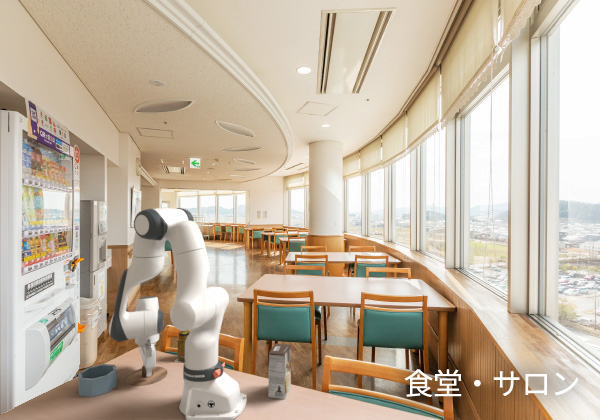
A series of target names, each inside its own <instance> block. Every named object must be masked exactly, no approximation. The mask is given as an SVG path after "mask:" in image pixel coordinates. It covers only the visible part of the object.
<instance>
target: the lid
mask: <svg viewBox="0 0 600 420" xmlns="http://www.w3.org/2000/svg"><path fill="white" fill-rule="evenodd" d="M167 375H168V370H167V368H165V367H163V366H155V368H152V375H151V376H149V377H147V376H146V369H145V366H141V368H140V369H139V368H138V369H136V370H134V371H132V372H131V373H129V374H128V375H127V376H126V378H125V379H126V380H125V382H126V383H127V384H128V385H130V386H133V387H134V386H135V387H139V386H140V387H142V386H144V387H145V386H149V385H153V384H155V383H158V382H161V381H162V380H163V379H165V378H166V377H167Z"/></svg>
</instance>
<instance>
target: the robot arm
mask: <svg viewBox="0 0 600 420" xmlns="http://www.w3.org/2000/svg"><path fill="white" fill-rule="evenodd" d="M133 220H134V221H133V229H134V231H135V233H134V237H133V244H132V255H131V256H132V258H131V262H130V265H129V266H128V268H125V269H124V270H123V272H122V274H121V276H120V281H119V285H118V288H117V293H116V297H115V298H116V299H115V303H114V307H113V308H114V310H113V314H112V317H111V320H110V322H109V326H108V334H109V337H110V338H111V339H112V340H113V341H115V342H117V343H120V342H121V343H122V342H125V341H128V340H134V341H135V342H134V343H135V344H136V345H138V349H139V353H140V356H141V359H142V365H143V366H145V369H146V376H147V377H149V376H151V375H152V368H155V366H156V365H157V357H156V356H157V355H156V347H155V345H156V344H157V342H158V341H159V340H160V333H161V332H162V331H163V329H165V324H164V318H165V312H163V310H161V309H160V305H159V298H158V296H156V295H149V296H141V297H138V298H137V300H136V305H135V311H127V307H128V303H129V302H128V301H129V298H130V292H131V291H132V290H133V289H134V288H135V287H137V286H138V285H141V284H142V283H145V282H148V281H149V280H152V279H153V278H155V277H157V276H158V275H159V274H160V273H161V272H162V270H163V269H164V267H165V266H164V265H165V261H166V260H165V259H166V254H165V253H166V249H165V248H166V247H165V245H166V241H168V242H169V243H170V246H171V251H172V256H173V261H174V265H175V266H174V267H175V271H176V277H177V286H176V287H177V288H176V296H175V299H174V302H173V305H172V306H171V309H170V311H169V312H170V313H169V317H170V321H171V323H172V325H173V326H174V327H175V329H177V330H179V331H180V332H181V331H187V330H188V331H190V333H189V335H188V337H187V339H186V341H185V362H183V363H184V364H183V370H182V371H183V372H182V373H183V375H182V376H183V389H182V396H181V398H180V399H181V400H180V403H179V411H180V412H181V413H182V414H183V415H184V418H185V420H234V419H236V418H237V417H239V416H240V415H241V414H242V412H244V409H245V408H246V406H247V402H248V399H247V398H248V397H247V395H246V393H243V392H241V388H240V384H239V382H238V381H237V380H235V379H234V378H233V377H231V376H230V375H229V374H227V373H226V372H225V371H224V367H225V364H226V362H225V361H224V362H223V363H221V362H220V360H219V340H220V332H221V329H222V323H223V320H224V315H225V312H226V311H227V308H228V306H229V303H230V296H229V293H228V291H227V290H226V289H225V288H224V287H221V286H208V285H207V284H208V278H209V275H210V272H211V265H210V261H209V257H208V252H207V248H206V244H205V240H204V237H203V234H202V231H201V229H200V226H199V225H198V224H197V223H196V222H195V220H194V216H193V214H192V213H191V212H190V210H188V209H186V208H182V207H176V208H175V207H174V208H173V207H156V208H147V209H143V210H141V211H139V212H137V214H136V215H135V217H134V219H133ZM207 286H208V287H207ZM156 367H157V366H156Z"/></svg>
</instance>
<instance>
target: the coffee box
mask: <svg viewBox="0 0 600 420" xmlns="http://www.w3.org/2000/svg"><path fill="white" fill-rule="evenodd" d="M291 351H292V344H287V343H275V344H273V346H272V348H271V349H270V350H269V352H268V387H267V389H268V398H272V399H280V400H286V399H287V398H286V397H287V395H288V394H289V391H290V389H291V387H292V374H291V373H292V366H291V365H292V357H291V356H292V352H291Z"/></svg>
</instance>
